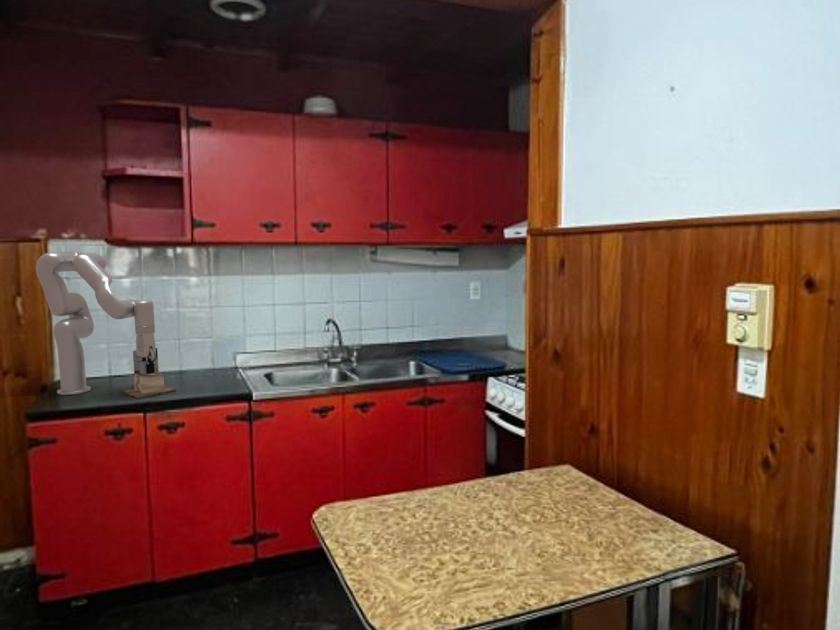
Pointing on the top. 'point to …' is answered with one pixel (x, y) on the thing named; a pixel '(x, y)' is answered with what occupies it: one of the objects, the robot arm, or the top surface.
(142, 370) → the grey cube
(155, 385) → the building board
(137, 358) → the coffee box
